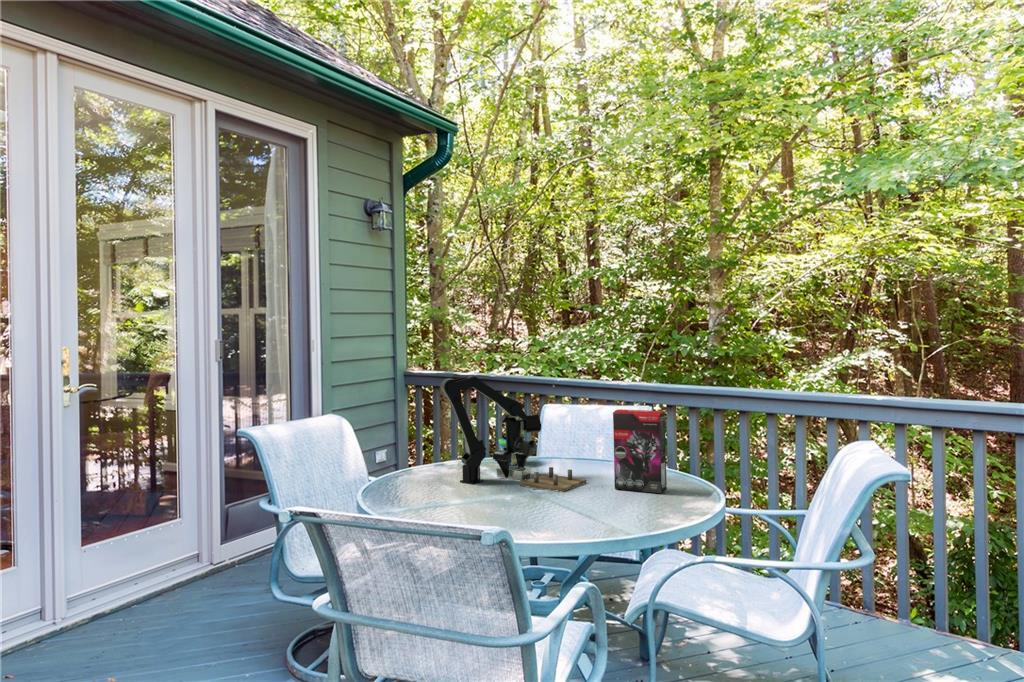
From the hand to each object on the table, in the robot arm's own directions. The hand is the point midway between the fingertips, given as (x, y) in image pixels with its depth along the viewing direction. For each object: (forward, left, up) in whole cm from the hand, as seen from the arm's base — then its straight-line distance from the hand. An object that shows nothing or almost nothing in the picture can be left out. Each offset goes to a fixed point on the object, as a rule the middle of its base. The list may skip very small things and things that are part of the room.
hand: (514, 475), depth 267 cm
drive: (0, 0, -1) cm, 1 cm away
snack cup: (+21, +16, -1) cm, 26 cm away
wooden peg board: (-1, -18, -1) cm, 18 cm away
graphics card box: (+7, -48, -1) cm, 49 cm away
